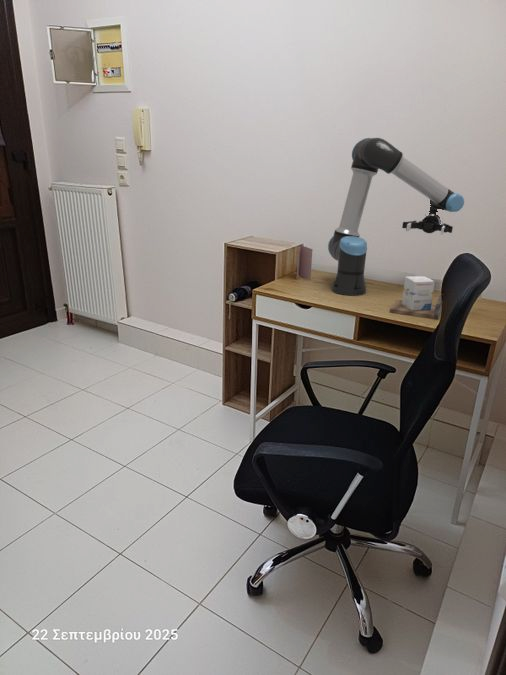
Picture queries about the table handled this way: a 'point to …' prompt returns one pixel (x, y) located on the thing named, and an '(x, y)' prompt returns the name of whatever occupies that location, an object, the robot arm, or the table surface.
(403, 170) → the robot arm
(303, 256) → the greeting card
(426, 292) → the ink box
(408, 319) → the table surface
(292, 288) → the table surface
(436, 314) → the walnut stand
